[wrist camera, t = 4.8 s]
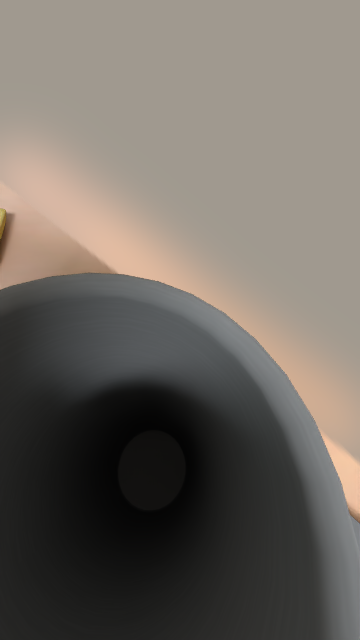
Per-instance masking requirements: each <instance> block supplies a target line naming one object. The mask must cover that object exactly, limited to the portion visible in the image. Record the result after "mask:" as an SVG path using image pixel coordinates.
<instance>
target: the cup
mask: <svg viewBox="0 0 360 640" xmlns="http://www.w3.org/2000/svg"><path fill="white" fill-rule="evenodd" d="M0 640H360V551H359V547H358V544H357V540H356V536H355V533H354V529H353V525H352V521H351V518H350V514H349V510H348V506H347V503H346V499H345V495H344V492H343V488H342V484H341V481H340V479H339V476H338V474H337V472H336V469H335V467H334V464H333V462H332V460H331V457H330V455H329V453H328V450H327V448H326V446H325V443H324V441H323V439H322V436H321V434H320V432H319V429H318V427H317V425H316V422H315V420H314V419H313V417H312V416H311V414H310V412H309V411H308V409H307V408H306V406H305V404H304V402H303V401H302V399H301V398H300V396H299V395H298V393H297V391H296V390H295V388H294V386H293V385H292V383H291V381H290V380H289V378H288V377H287V375H286V374H285V372H284V371H283V370H282V369H281V368H280V367H279V366H278V365H277V363H276V362H275V361H274V360H273V359H272V357H271V356H270V355H269V354H268V353H267V352H266V350H265V349H264V348H263V347H262V346H261V345H260V344H259V342H258V341H257V340H256V339H255V338H254V337H253V336H251V335H250V334H249V333H248V332H247V331H245V330H244V329H243V328H242V327H241V326H239V325H238V324H237V323H236V322H235V321H233V320H232V319H231V318H230V317H228V316H227V315H226V314H225V313H224V312H222V311H220V310H218V309H216V308H215V307H213V306H212V305H210V304H208V303H206V302H204V301H203V300H201V299H199V298H198V297H196V296H194V295H193V294H190V293H188V292H185V291H182V290H180V289H177V288H174V287H172V286H169V285H166V284H164V283H161V282H159V281H153V280H149V279H144V278H138V277H134V276H129V275H123V274H101V273H83V274H72V275H62V276H52V277H47V278H43V279H39V280H34V281H30V282H26V283H22V284H17V285H13V286H10V287H7V288H5V289H2V290H0Z"/></svg>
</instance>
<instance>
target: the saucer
mask: <svg viewBox="0 0 360 640" xmlns="http://www.w3.org/2000/svg"><path fill="white" fill-rule="evenodd" d="M5 222H6V210H5V209H0V240H1V237H2V234H3V231H4V227H5Z"/></svg>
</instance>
